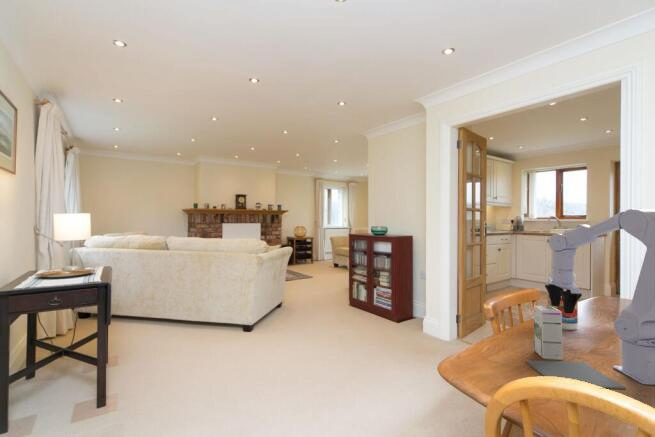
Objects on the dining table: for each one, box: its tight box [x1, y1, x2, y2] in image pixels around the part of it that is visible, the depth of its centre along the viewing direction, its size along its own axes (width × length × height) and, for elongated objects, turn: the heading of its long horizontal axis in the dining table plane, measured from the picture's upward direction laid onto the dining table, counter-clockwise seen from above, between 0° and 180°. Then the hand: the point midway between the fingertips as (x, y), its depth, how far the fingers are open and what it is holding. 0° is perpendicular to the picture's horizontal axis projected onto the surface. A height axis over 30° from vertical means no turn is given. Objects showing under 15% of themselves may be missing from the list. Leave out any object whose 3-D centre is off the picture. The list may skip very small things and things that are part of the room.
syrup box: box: [533, 305, 564, 361], centre depth 97 cm, size 6×6×14 cm
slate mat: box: [525, 359, 626, 390], centre depth 85 cm, size 14×16×1 cm
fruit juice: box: [547, 268, 579, 331], centre depth 124 cm, size 9×9×28 cm
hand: (561, 309), depth 108 cm, fingers open, 7 cm apart
